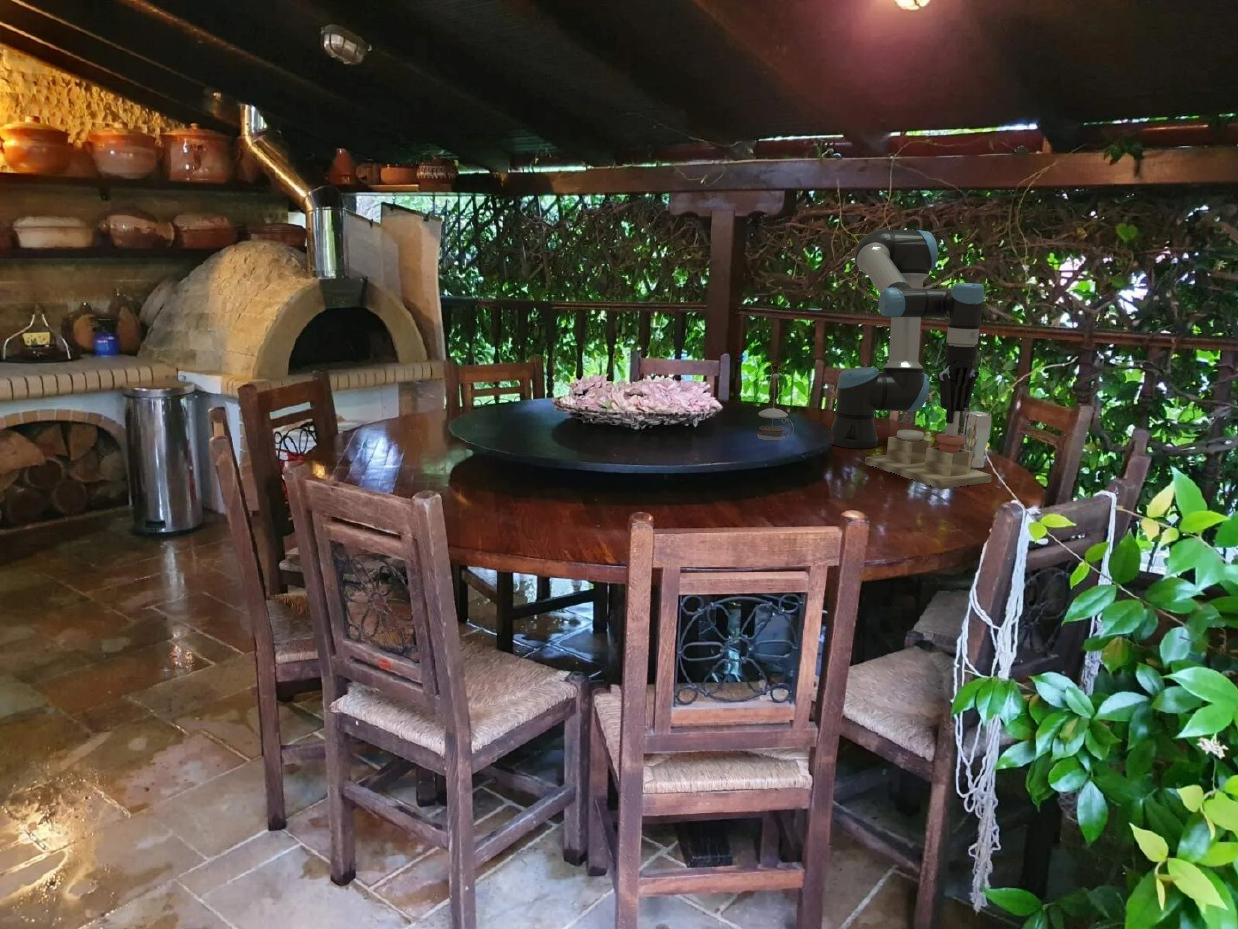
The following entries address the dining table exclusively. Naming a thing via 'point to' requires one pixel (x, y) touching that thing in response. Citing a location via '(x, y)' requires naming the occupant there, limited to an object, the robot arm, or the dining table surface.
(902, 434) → the grey cylinder
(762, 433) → the french press
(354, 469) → the dining table surface
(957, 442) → the brown rounded piece
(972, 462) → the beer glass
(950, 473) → the stand
